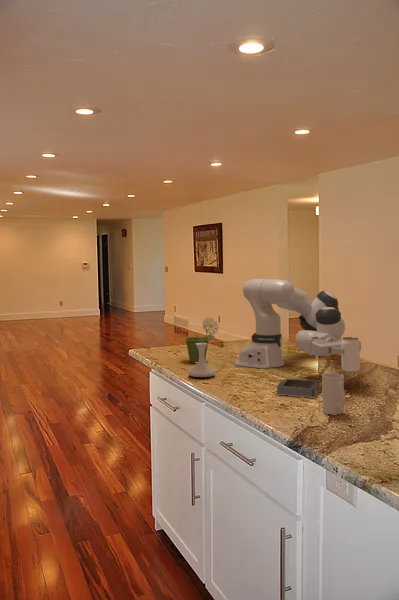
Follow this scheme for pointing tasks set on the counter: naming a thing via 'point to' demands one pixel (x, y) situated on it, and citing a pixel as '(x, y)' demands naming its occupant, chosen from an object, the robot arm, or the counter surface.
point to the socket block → (298, 388)
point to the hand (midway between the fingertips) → (351, 350)
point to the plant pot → (195, 348)
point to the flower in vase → (202, 367)
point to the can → (350, 354)
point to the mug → (333, 393)
